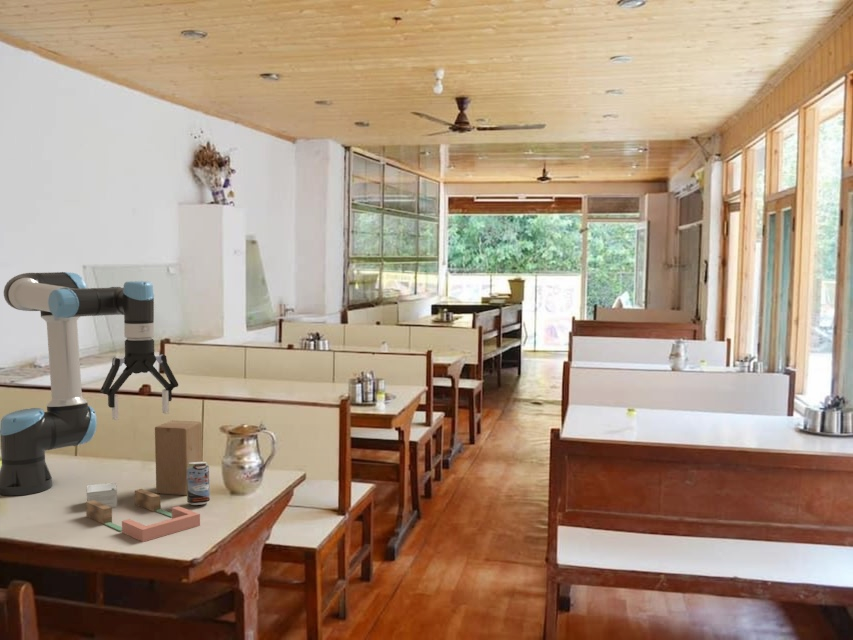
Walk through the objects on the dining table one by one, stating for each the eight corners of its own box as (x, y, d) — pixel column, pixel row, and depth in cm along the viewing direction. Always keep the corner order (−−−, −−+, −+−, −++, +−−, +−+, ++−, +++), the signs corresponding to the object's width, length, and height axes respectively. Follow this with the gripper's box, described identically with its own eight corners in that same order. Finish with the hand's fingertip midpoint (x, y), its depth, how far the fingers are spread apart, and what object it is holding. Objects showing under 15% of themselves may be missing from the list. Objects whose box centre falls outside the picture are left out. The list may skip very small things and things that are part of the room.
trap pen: (122, 532, 199) (121, 520, 198) (178, 517, 211) (178, 506, 211) (142, 541, 192) (142, 529, 192) (200, 525, 204) (199, 514, 204)
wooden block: (186, 495, 230) (185, 428, 228) (155, 493, 232) (154, 426, 230) (203, 486, 240) (202, 421, 238) (173, 484, 242) (171, 419, 240)
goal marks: (104, 524, 205) (104, 523, 205) (160, 510, 217) (160, 509, 217) (120, 531, 199) (120, 530, 199) (176, 516, 211) (176, 515, 211)
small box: (86, 502, 224) (86, 485, 223) (116, 499, 227) (116, 481, 226) (87, 510, 217) (86, 492, 216) (117, 507, 220) (117, 489, 219)
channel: (86, 516, 211) (85, 501, 211) (141, 502, 223) (141, 488, 223) (104, 524, 205) (104, 509, 204) (160, 510, 217) (160, 495, 216)
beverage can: (189, 509, 217) (188, 466, 217) (184, 501, 224) (183, 460, 223) (212, 506, 220) (212, 463, 219) (207, 498, 227) (206, 457, 226)
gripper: (95, 342, 202) (97, 424, 204) (189, 337, 217) (190, 413, 219) (86, 340, 208) (88, 419, 209) (179, 334, 223) (180, 408, 225)
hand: (140, 416), depth 214 cm, fingers open, 13 cm apart
